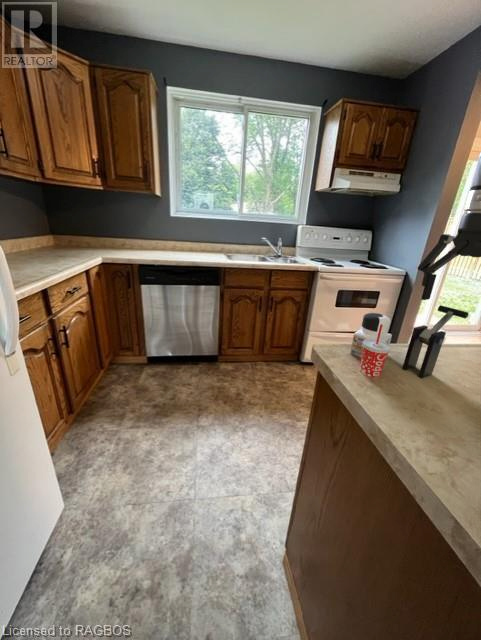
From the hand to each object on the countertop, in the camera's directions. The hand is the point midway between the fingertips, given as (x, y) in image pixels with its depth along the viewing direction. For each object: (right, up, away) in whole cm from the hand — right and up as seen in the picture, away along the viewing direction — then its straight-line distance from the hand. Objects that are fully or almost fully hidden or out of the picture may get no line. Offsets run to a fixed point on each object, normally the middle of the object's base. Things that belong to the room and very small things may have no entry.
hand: (454, 306), depth 66 cm
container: (-16, -14, +11) cm, 24 cm away
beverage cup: (-20, -18, +1) cm, 27 cm away
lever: (-3, -5, 0) cm, 6 cm away
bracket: (-8, -18, +3) cm, 20 cm away
